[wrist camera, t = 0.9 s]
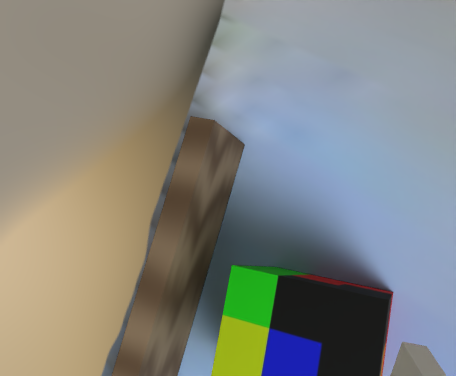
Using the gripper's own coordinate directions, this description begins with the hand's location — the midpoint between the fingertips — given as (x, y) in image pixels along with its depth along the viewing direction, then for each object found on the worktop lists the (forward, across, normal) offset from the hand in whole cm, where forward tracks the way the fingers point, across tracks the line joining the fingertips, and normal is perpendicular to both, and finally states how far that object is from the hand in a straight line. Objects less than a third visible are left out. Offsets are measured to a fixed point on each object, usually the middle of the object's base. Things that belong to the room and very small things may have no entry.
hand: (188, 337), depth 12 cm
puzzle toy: (+19, +10, -11) cm, 24 cm away
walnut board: (+24, -2, -12) cm, 27 cm away
